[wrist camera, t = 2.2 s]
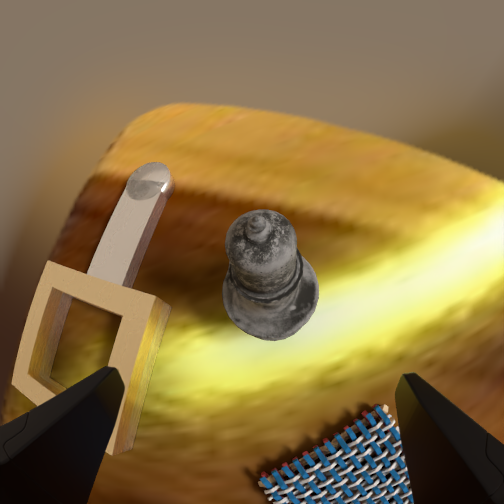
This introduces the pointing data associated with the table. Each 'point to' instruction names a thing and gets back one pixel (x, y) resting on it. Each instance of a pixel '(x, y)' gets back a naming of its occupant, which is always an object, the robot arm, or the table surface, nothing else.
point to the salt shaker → (267, 277)
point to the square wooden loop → (125, 347)
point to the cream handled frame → (124, 266)
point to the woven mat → (347, 468)
